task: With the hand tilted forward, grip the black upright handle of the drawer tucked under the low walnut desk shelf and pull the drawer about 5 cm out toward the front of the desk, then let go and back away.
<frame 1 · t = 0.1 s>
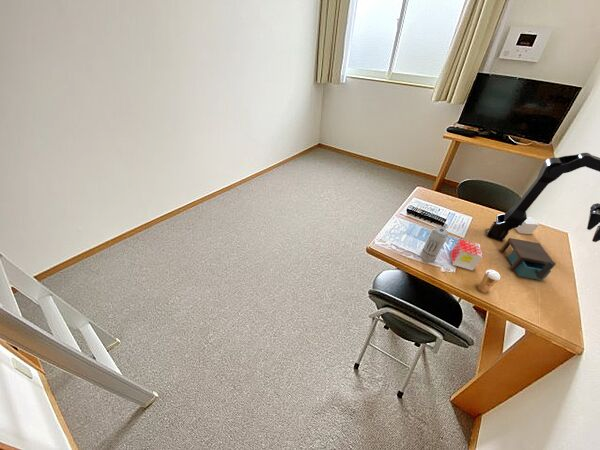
hand: (591, 235, 110), 15 cm above the table, tool pointing down, fingers open, 9 cm apart
milkshake: (480, 289, 103), on the table
adhesive note: (521, 230, 135), on the table
red patterned cube box: (461, 261, 114), on the table
energy drink can: (426, 258, 114), on the table
shelf: (520, 262, 116), on the table
drawer: (534, 261, 108), point 6 cm above the table, slide at 0.0 cm
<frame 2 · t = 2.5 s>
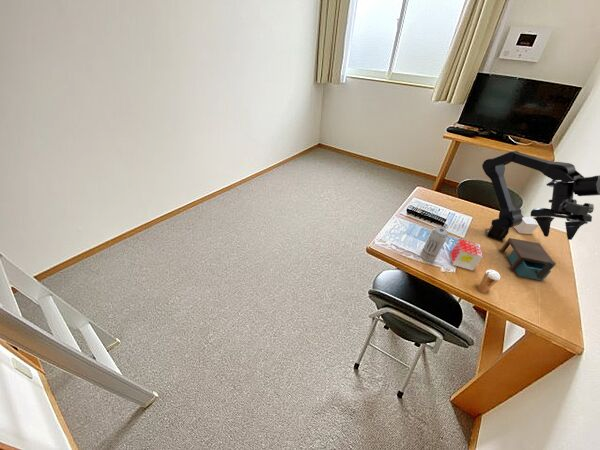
hand: (558, 238, 102), 17 cm above the table, tool tilted 40°, fingers open, 9 cm apart
nothing on the table moved.
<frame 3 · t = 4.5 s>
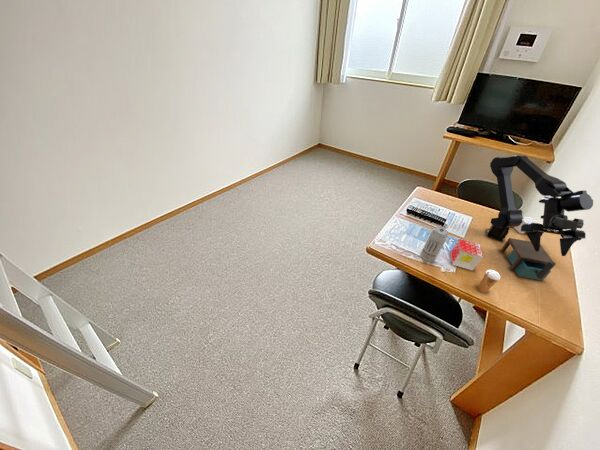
hand: (550, 253, 101), 13 cm above the table, tool tilted 45°, fingers open, 9 cm apart
nothing on the table moved.
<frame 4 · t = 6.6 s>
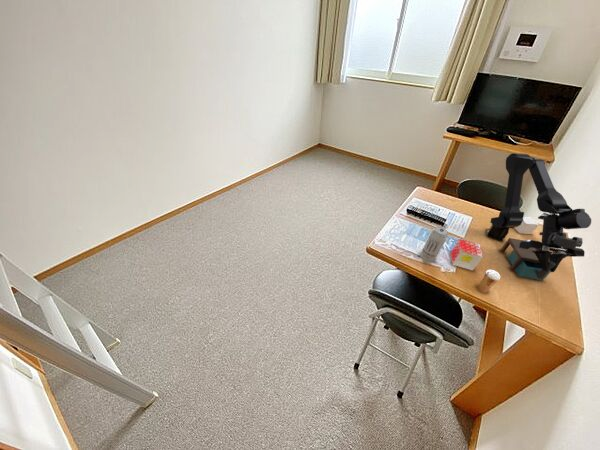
hand: (548, 271, 101), 9 cm above the table, tool tilted 45°, fingers closed on drawer, 2 cm apart
drawer: (534, 261, 108), point 6 cm above the table, slide at 0.0 cm, touching gripper
everything else where it was.
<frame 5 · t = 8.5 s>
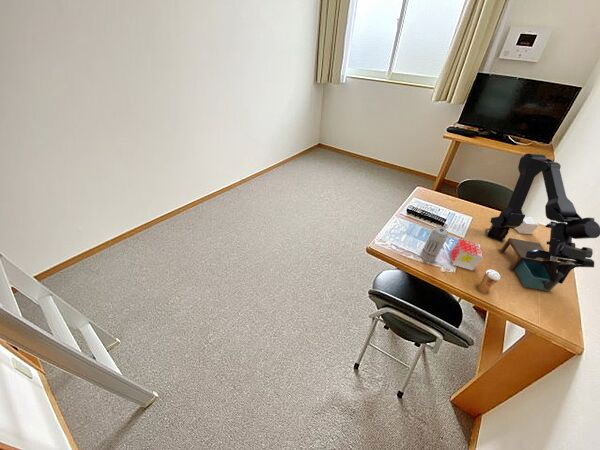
hand: (556, 282, 96), 9 cm above the table, tool tilted 45°, fingers closed on drawer, 2 cm apart
drawer: (541, 271, 104), point 6 cm above the table, slide at 5.4 cm, touching gripper
everything else where it was.
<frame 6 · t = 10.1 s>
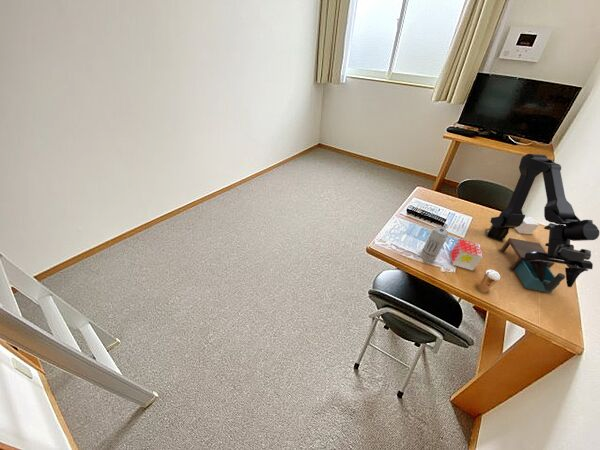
hand: (555, 284, 97), 8 cm above the table, tool tilted 45°, fingers open, 9 cm apart
drawer: (542, 273, 103), point 6 cm above the table, slide at 6.1 cm
everything else where it was.
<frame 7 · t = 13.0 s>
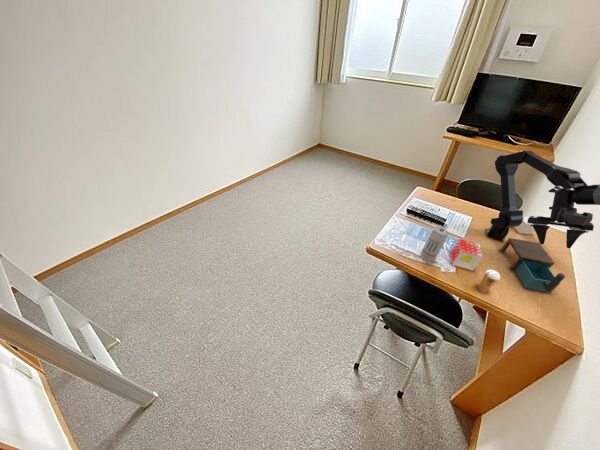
hand: (555, 246, 101), 16 cm above the table, tool tilted 35°, fingers open, 9 cm apart
nothing on the table moved.
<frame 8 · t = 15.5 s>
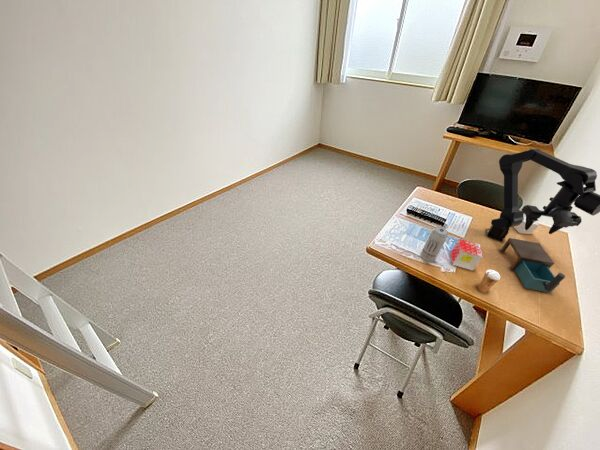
hand: (537, 231, 112), 13 cm above the table, tool pointing down, fingers open, 9 cm apart
nothing on the table moved.
at the end: drawer slide at 6.1 cm; the gripper is holding nothing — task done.
